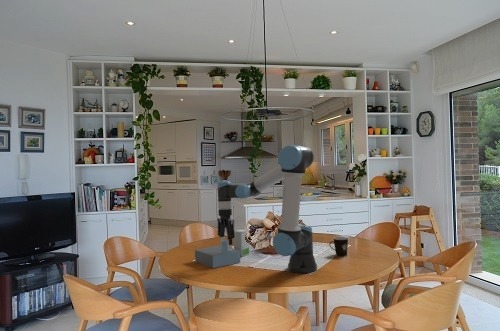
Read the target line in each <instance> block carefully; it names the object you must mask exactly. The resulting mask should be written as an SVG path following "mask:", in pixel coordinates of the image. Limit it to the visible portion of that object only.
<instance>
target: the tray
mask: <svg viewBox="0 0 500 331" xmlns="http://www.w3.org/2000/svg"><path fill="white" fill-rule="evenodd" d="M220 245H221V251H222V254H220V255H215V256H213V268H212V269H216V268H221V267H225V266H228V265H229V266H230V265H233V264H238V263H241V257H240V251H234V252H232V251H228V248H227V239H225V241H221V243H220Z"/></svg>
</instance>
